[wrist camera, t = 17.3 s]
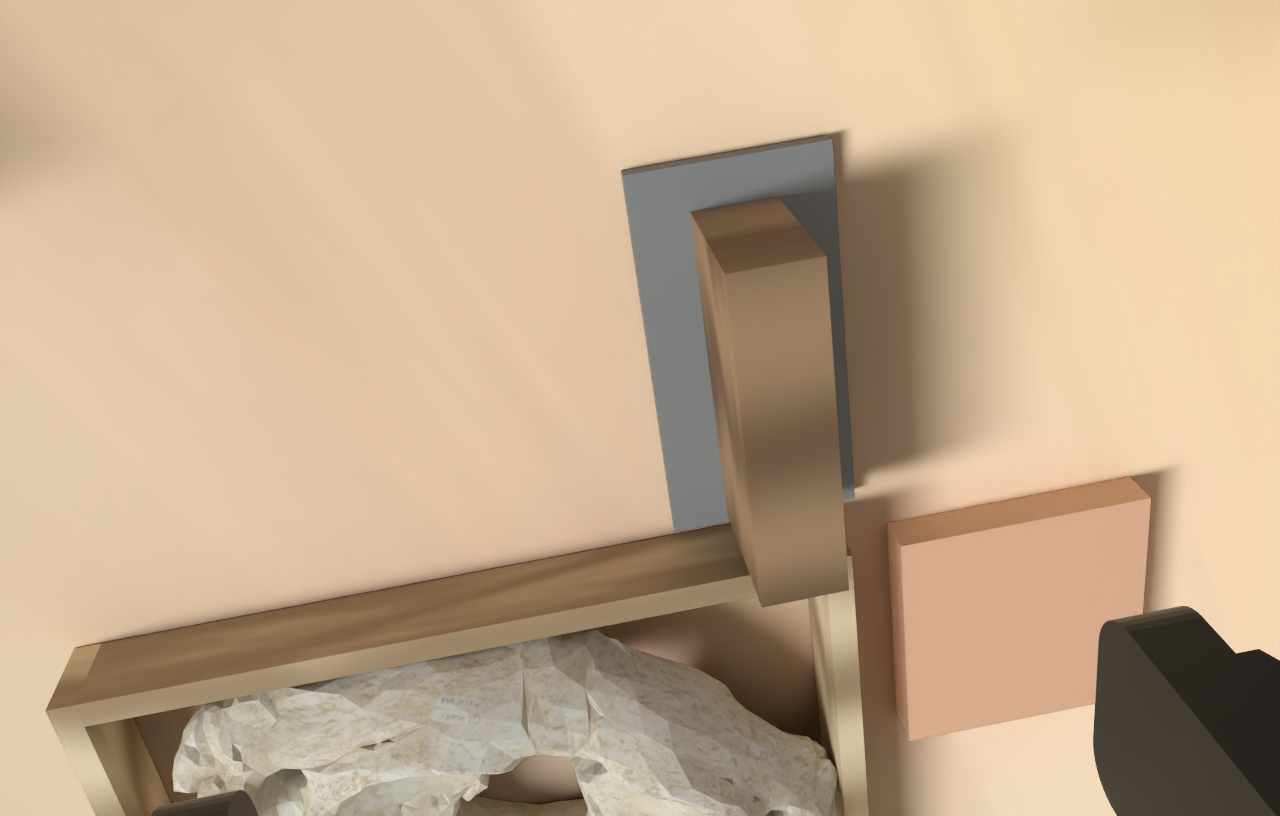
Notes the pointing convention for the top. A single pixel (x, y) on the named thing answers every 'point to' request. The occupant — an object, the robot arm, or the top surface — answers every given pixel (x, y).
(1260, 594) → the top surface
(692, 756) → the sculpture
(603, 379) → the top surface
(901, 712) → the tile
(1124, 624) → the robot arm
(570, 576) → the wooden tray
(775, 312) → the brown rectangular block
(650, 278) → the mat
